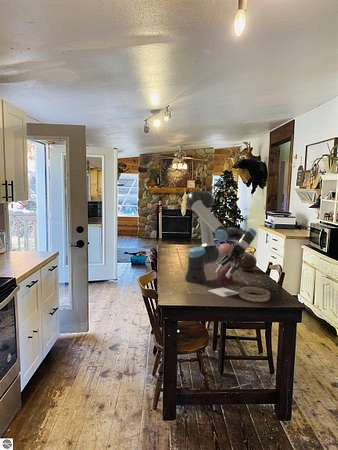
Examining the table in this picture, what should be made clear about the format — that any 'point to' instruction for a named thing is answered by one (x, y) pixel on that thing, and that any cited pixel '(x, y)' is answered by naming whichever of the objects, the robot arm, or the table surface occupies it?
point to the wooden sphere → (248, 262)
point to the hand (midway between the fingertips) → (221, 275)
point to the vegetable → (223, 278)
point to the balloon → (225, 249)
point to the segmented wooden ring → (257, 298)
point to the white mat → (223, 292)
